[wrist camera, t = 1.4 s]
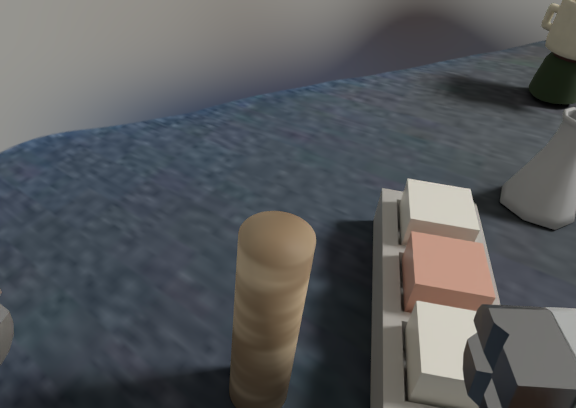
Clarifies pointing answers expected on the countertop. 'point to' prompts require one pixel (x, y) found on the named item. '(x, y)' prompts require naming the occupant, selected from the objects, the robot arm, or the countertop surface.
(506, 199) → the flask
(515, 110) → the countertop surface
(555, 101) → the character mug
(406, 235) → the ivory key
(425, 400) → the ivory key
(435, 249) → the terracotta key
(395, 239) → the keypad bezel
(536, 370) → the robot arm
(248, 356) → the tan wooden cylinder
